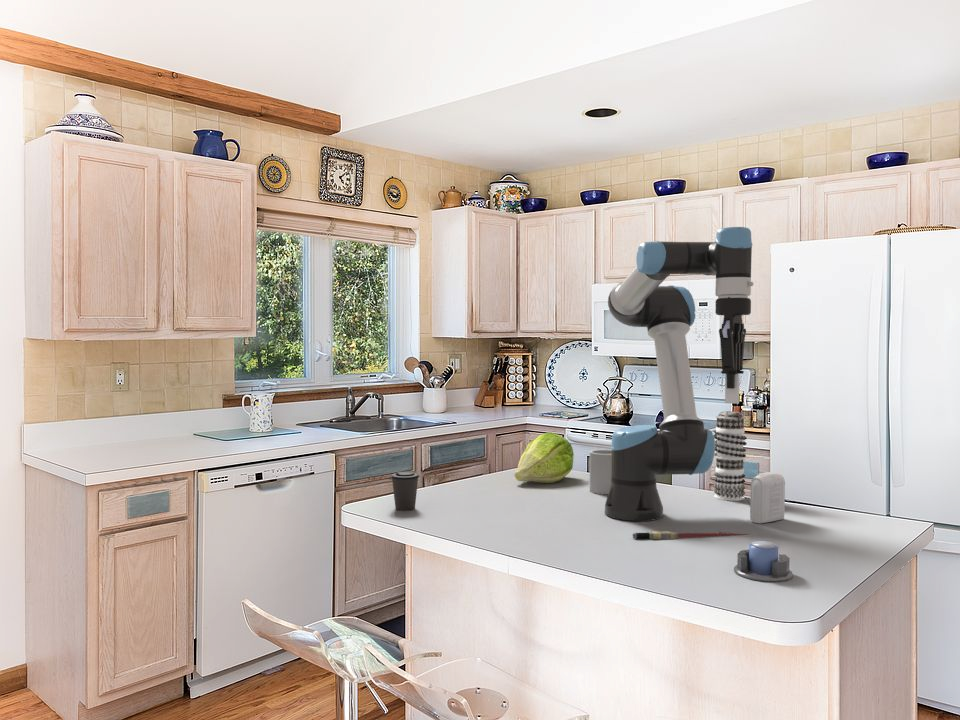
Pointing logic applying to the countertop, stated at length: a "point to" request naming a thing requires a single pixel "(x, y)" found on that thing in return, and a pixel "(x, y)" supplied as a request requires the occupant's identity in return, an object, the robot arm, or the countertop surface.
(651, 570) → the countertop surface
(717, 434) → the decorative candle
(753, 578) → the disc
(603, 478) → the cup
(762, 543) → the blue dome-topped cylinder
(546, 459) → the lettuce
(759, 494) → the photo printer
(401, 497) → the coffee cup
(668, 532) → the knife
